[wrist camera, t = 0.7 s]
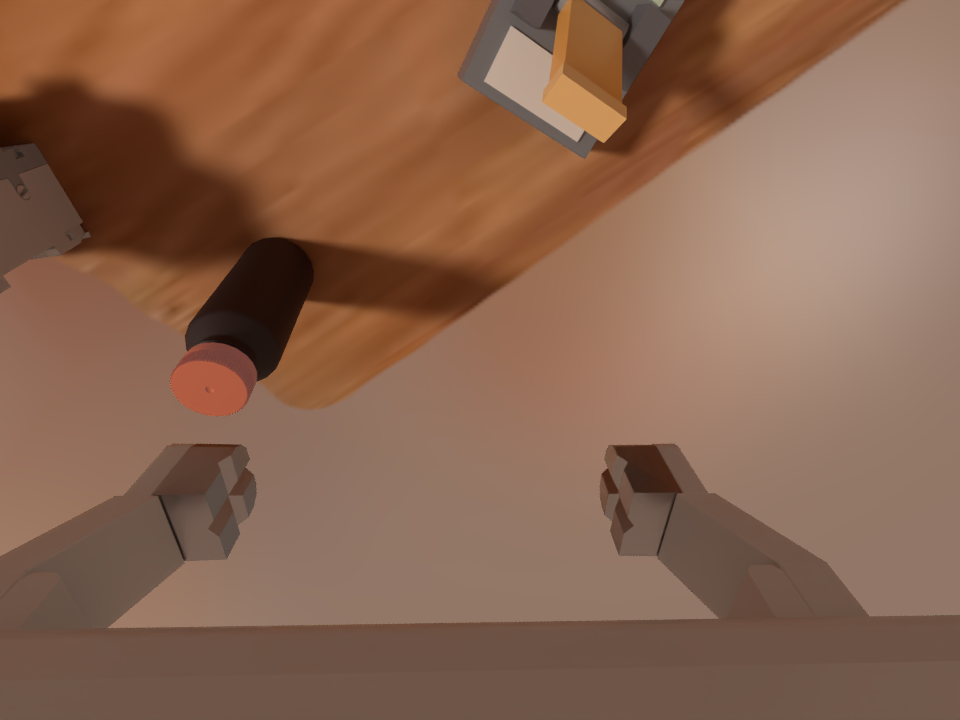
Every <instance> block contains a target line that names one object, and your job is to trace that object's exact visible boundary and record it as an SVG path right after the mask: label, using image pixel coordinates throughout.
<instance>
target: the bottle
mask: <svg viewBox="0 0 960 720" xmlns="http://www.w3.org/2000/svg"><path fill="white" fill-rule="evenodd" d="M312 282H313V268H312V265H311V261H310V260H309V258H308V257H307V255H306V254H305V252H304V251H302V250H301V249H300V248H299V247H298V246H297V245H295V244H293V243H291V242H289V241H287V240H283V239H278V238H267V239H261V240H259V241H257V242H255V243H253V244H252V245H251V246H250V247H249V248H248V249H247V250H246V251H245V253H244V254H243V255H242V256H241V258H240V259H239V260H238V262H237V263H236V264H235V265H234V267H233V268H232V269H231V271H230V272H229V273H228V274H227V276H226V277H225V278H224V280H223V281H222V282H221V283H220V285H219V286H218V287H217V289H216V290H215V291H214V293H213V294H212V295H211V296H210V298H209V299H208V300H207V302H206V303H205V304H204V305H203V307H202V308H201V309H200V311H199V312H198V313H197V314H196V316H195V317H194V318H193V320H192V321H191V322H190V323H189V326H188V329H187V332H186V335H185V341H186V349H187V351H188V352H187V353H186V354H185V355H184V356H183V358H182V359H181V361H180V362H179V364H178V365H177V366H176V368H175V369H174V371H173V373H172V375H171V378H170V379H171V380H170V381H171V383H170V384H171V387H172V388H171V389H172V391H173V392H174V393H173V394H175V396H176V398H177V399H178V400H179V401H180V402H181V403H182V404H183V405H185V406H186V407H188V408H190V409H192V410H193V411H195V412H198V413H201V414H204V415H211V416H224V415H230V414H233V413H236V412H238V410H240V409H242V408H243V407H244V406H245V405H246V403H247V402H248V399H249V397H250V395H251V393H252V391H253V388H254V386H255V383H256V382H257V381H259V380H262V379H264V378H266V377H268V376H269V375H270V374H271V373H272V372H273V371H274V370H275V369H276V368H277V366H278V363H279V361H280V359H281V357H282V354H283V352H284V350H285V347H286V345H287V342H288V340H289V338H290V335H291V333H292V330H293V328H294V326H295V323H296V321H297V318H298V316H299V313H300V311H301V309H302V306H303V304H304V301H305V299H306V297H307V294H308V292H309V289H310V287H311V284H312Z"/></svg>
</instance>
